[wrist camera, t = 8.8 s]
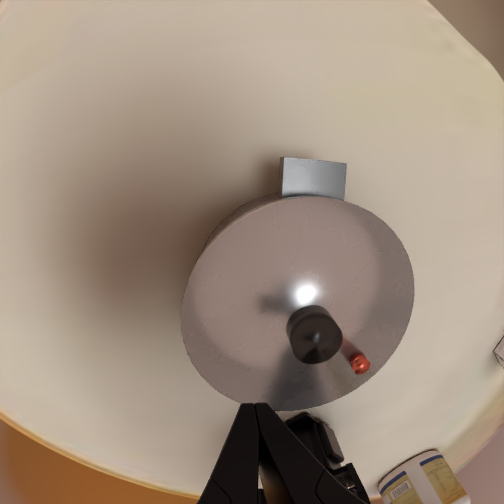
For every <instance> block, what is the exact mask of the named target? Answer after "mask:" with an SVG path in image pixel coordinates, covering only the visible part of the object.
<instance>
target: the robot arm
mask: <svg viewBox="0 0 504 504" xmlns="http://www.w3.org/2000/svg"><path fill="white" fill-rule="evenodd" d="M343 461H344V456H343V454H342V451H341V449H340V446H339V444H338V441H337V439H336V437H335V434H334V432H333V430H332V429H330V428H329V427H328V426H327V425H325V424H324V423H323V422H318V421H317V420H316V419H315V418H313V417H312V416H311V415H310V414H309V413H303V414H300V415H299V416H297V417H295V418H293V419H292V420H290V421H288V422H286V423H284V422H283V421H282V420H281V419H280V417H279V416H278V415H277V414H276V413H275V411H274V410H273V409H272V408H271V407H270V405H269V404H268V403H266V402H256V403H255V404H253V403H242V404H241V405H240V407H239V410H238V412H237V415H236V417H235V420H234V422H233V425H232V427H231V429H230V432H229V434H228V437H227V439H226V441H225V444H224V446H223V449H222V451H221V453H220V456H219V458H218V460H217V462H216V465H215V467H214V469H213V472H212V474H211V476H210V479H209V480H208V483H207V485H206V487H205V489H204V491H203V493H202V495H201V497H200V499H199V501H198V502H197V504H371V503H370V500H369V498H368V495H367V493H366V491H365V489H364V487H363V485H362V483H361V481H360V479H359V477H358V474H357V472H356V470H355V468H354V466H353V464H352V463H348V464H346V466H343V467H341V464H340V463H341V462H343ZM258 474H260V478H261V482H262V486H263V489H258ZM348 487H350V488H349V489H348Z"/></svg>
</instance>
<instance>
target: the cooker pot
mask: <svg viewBox="0 0 504 504" xmlns="http://www.w3.org/2000/svg"><path fill="white" fill-rule="evenodd" d="M346 167H347V164H346V163H338V162H330V161H321V160H312V159H301V158H290V157H281V158H280V171H279V188H278V194H274V195H268V196H264V197H261V198H258V199H255V200H253V201H251V202H249V203H247V204H245V205H243V206H241V207H239V208H238V209H236V210H235V211H233V212H232V213H231V214H230V215H228V216H227V217H226V218H225V219H224V220H223V221H222V222H221V223H220V224H219V225H218V226H217V227H216V229H215V230H214V231H213V232H212V234H211V236H210V237H209V239H208V240H207V242H206V244H205V246H204V248H203V251H204V249H205V248H206V247H207V245H208V244H209V243H210V242H211V241H212V240H213V238H214V237H215V236H216V235H217V234H218V233H219V232H220V231H221V230H222V229H224V228H225V227H226V226H227V225H229V224H230V223H231V222H232V221H233V220H235V219H236V218H238V217H240V216H241V215H243V214H245V213H246V212H248V211H250V210H252V209H254V208H256V207H258V206H261V205H263V204H265V203H268V202H272V201H275V200H279V199H282V198H288V197H295V196H323V197H330V198H335V199H339V200H342V201H344V193H345V181H346ZM203 251H202V252H203ZM201 254H202V253H201ZM307 409H308V408H307Z"/></svg>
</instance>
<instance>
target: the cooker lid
mask: <svg viewBox="0 0 504 504" xmlns="http://www.w3.org/2000/svg"><path fill="white" fill-rule="evenodd" d="M413 302H414V277H413V271H412V266H411V263H410V260H409V257H408V254H407V252H406V250H405V248H404V246H403V244H402V242H401V241H400V239H399V238H398V237H397V235H396V234H395V233H394V231H393V230H392V229H391V228H390V227H389V226H388V225H387V224H386V223H385V222H384V221H383V220H381V219H380V218H378V217H377V216H376V215H374V214H373V213H371V212H369V211H367V210H365V209H363V208H361V207H359V206H357V205H354V204H351V203H348V202H345V201H342V200H339V199H335V198H330V197H323V196H295V197H288V198H282V199H279V200H275V201H272V202H268V203H265V204H263V205H261V206H258V207H256V208H254V209H252V210H250V211H248V212H246V213H245V214H243V215H241V216H240V217H238V218H236V219H235V220H233V221H232V222H231V223H230V224H229V225H227V226H226V227H225V228H224V229H222V230H221V231H220V232H219V233H218V234H217V235H216V236H215V237H214V238H213V240H212V241H211V242H210V243H209V244H208V245H207V247H206V248H205V249H204V251H203V252H202V254H201V255H200V257H199V258H198V260H197V262H196V264H195V266H194V268H193V270H192V272H191V275H190V278H189V281H188V284H187V287H186V290H185V293H184V297H183V303H182V309H181V330H182V336H183V341H184V344H185V347H186V350H187V353H188V355H189V357H190V359H191V361H192V363H193V365H194V367H195V368H196V369H197V371H198V372H199V374H200V375H201V376H202V377H203V378H204V379H205V380H206V381H207V382H208V383H209V384H210V385H211V386H212V387H213V388H215V389H216V390H217V391H218V392H220V393H221V394H223V395H225V396H226V397H228V398H230V399H232V400H234V401H236V402H239V403H241V404H242V403H253V404H255V403H256V402H266V403H268V404H269V405H270V407H271V408H272V409H273V410H274V411H293V410H301V409H307V408H312V407H316V406H320V405H323V404H326V403H329V402H331V401H334V400H336V399H338V398H340V397H343V396H345V395H346V394H348V393H350V392H352V391H353V390H355V389H357V388H358V387H359V386H361V385H362V384H364V383H365V382H366V381H368V380H369V379H370V378H371V377H372V376H373V375H375V374H376V373H377V372H378V371H379V370H380V369H381V368H382V366H383V365H384V364H385V363H386V362H387V361H388V359H389V358H390V357H391V356H392V354H393V353H394V351H395V350H396V348H397V347H398V345H399V343H400V342H401V340H402V338H403V336H404V333H405V331H406V329H407V326H408V323H409V320H410V317H411V313H412V308H413Z"/></svg>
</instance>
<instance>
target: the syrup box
mask: <svg viewBox="0 0 504 504" xmlns="http://www.w3.org/2000/svg"><path fill="white" fill-rule="evenodd" d="M494 353H495V355H496V357H497V359H498V361H499V363H500V365H501V366H502V367H503V368H504V337H503V339H502V340H501V342H500V343H499V344H498V346H497V347H496V349H495V350H494Z"/></svg>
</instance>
